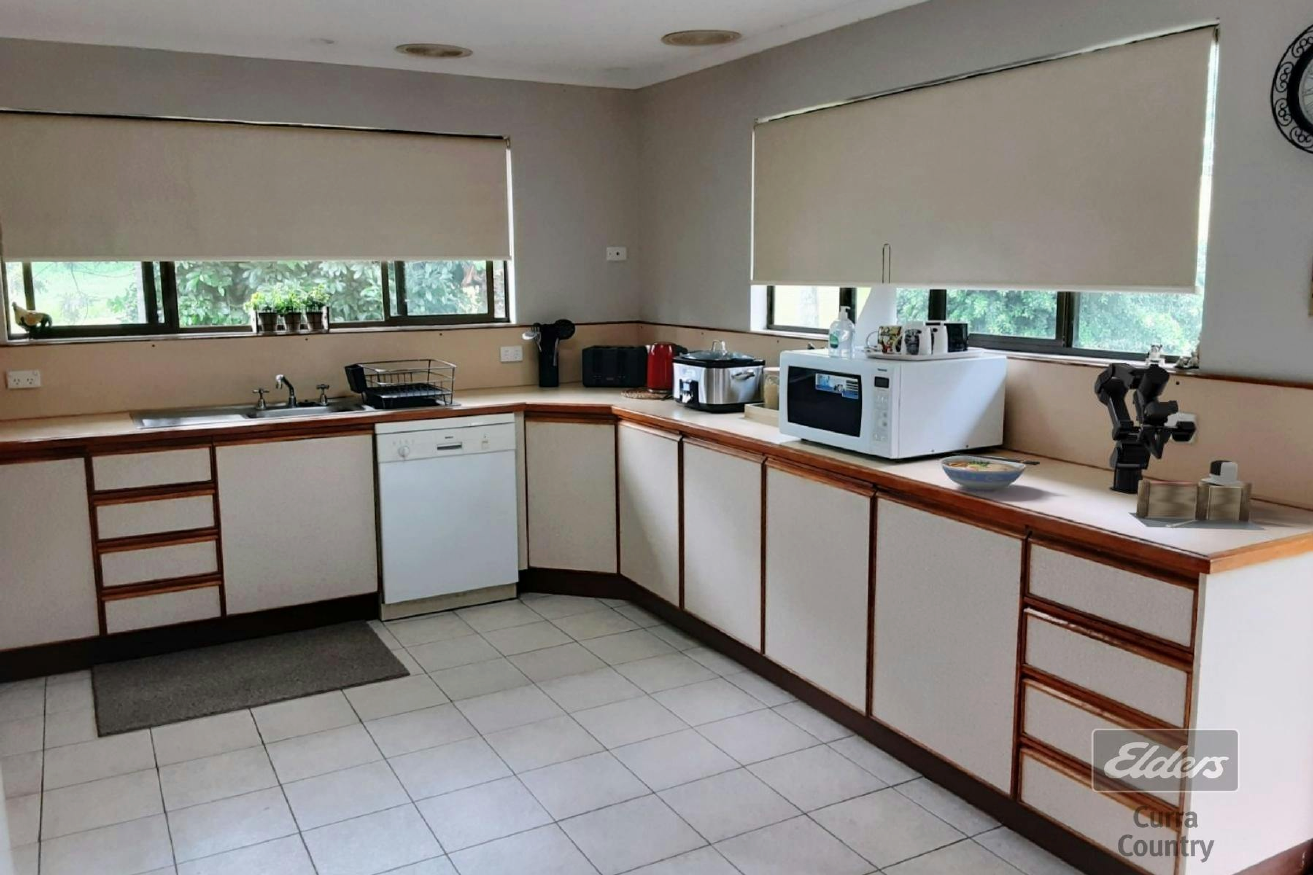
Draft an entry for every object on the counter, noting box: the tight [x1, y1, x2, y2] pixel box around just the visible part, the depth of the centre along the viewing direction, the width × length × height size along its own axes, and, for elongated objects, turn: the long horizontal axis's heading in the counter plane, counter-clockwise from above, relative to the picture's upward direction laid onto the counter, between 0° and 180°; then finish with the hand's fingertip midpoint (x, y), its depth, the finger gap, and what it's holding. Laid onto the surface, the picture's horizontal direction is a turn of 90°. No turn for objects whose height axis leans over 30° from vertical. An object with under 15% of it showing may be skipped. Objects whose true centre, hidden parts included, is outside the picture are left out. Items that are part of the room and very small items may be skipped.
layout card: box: [1128, 512, 1267, 531], centre depth 245 cm, size 26×14×1 cm, turn 83°
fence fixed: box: [1195, 480, 1253, 521], centre depth 245 cm, size 12×2×9 cm, turn 83°
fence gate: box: [1135, 479, 1198, 518], centre depth 247 cm, size 13×2×9 cm, turn 83°
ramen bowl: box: [939, 452, 1041, 493], centre depth 282 cm, size 25×23×8 cm
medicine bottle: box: [1200, 459, 1243, 508], centre depth 258 cm, size 7×7×12 cm
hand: (1159, 458), depth 255 cm, fingers closed
